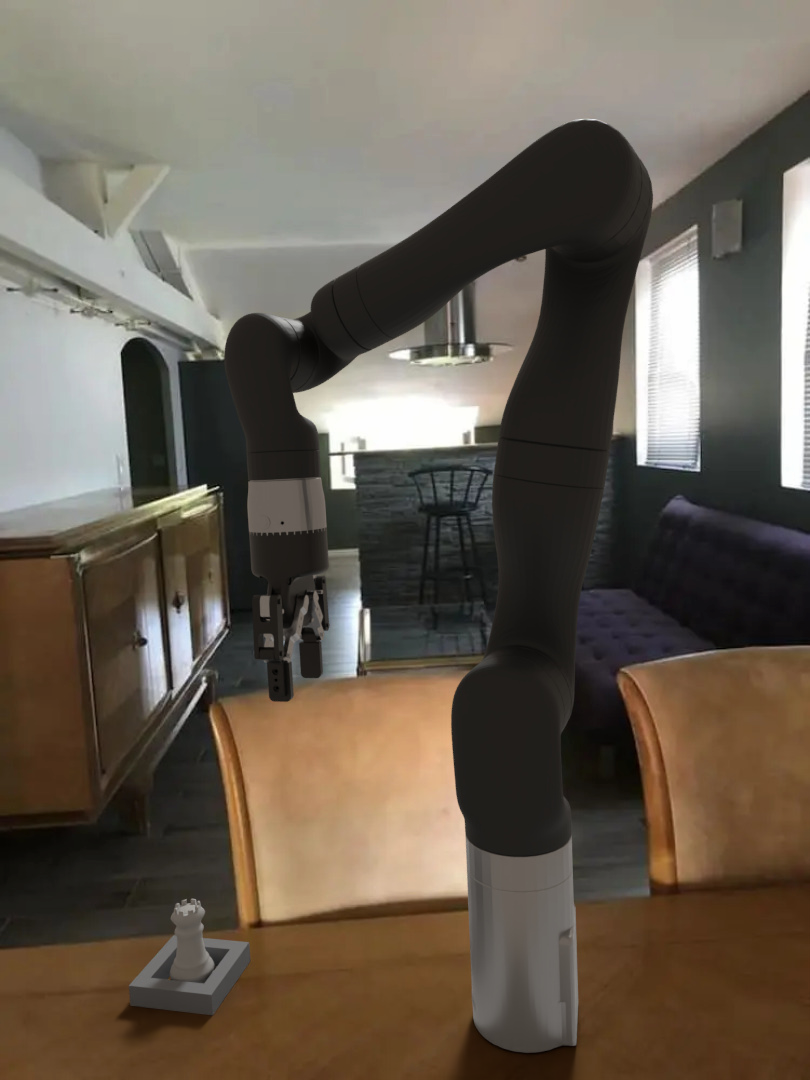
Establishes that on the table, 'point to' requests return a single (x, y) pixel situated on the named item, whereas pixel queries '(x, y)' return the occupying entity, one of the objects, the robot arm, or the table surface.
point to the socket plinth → (190, 996)
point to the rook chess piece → (190, 944)
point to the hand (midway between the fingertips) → (297, 688)
